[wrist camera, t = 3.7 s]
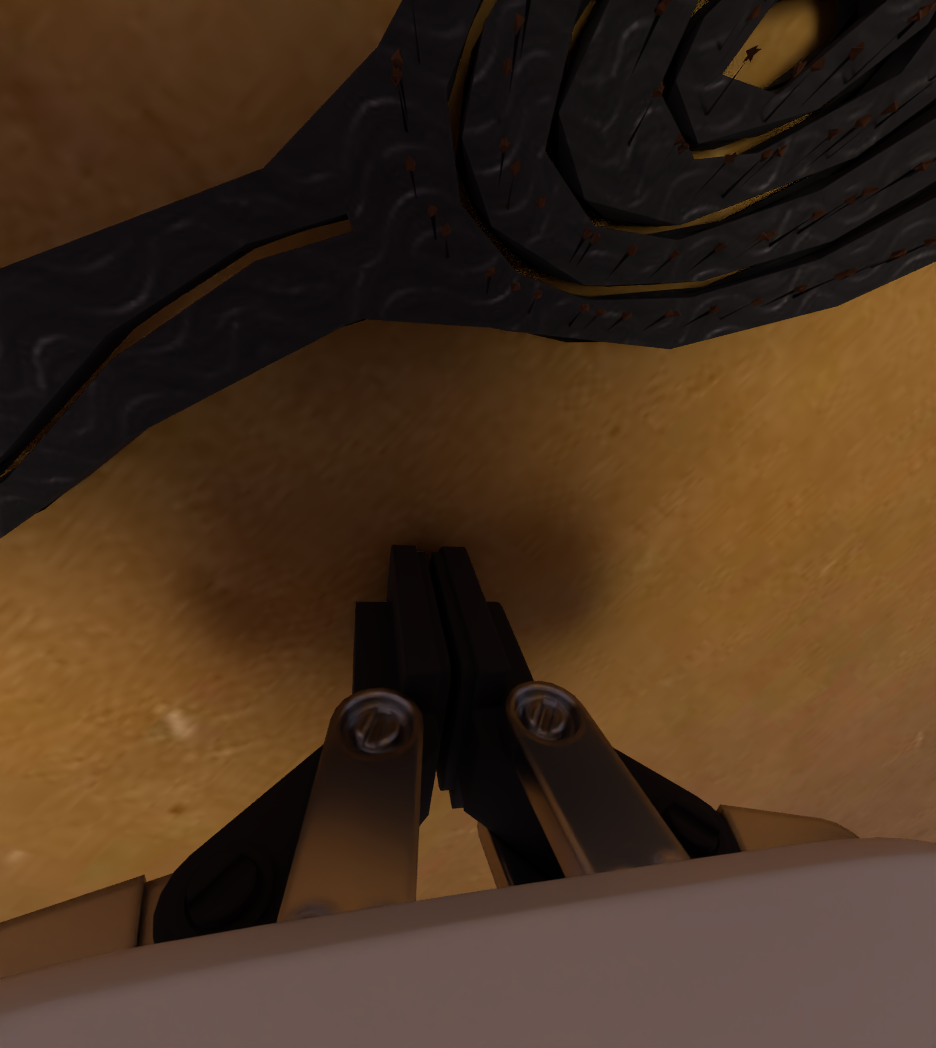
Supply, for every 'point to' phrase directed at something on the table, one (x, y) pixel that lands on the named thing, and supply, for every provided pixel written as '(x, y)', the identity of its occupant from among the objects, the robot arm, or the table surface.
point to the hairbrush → (494, 211)
